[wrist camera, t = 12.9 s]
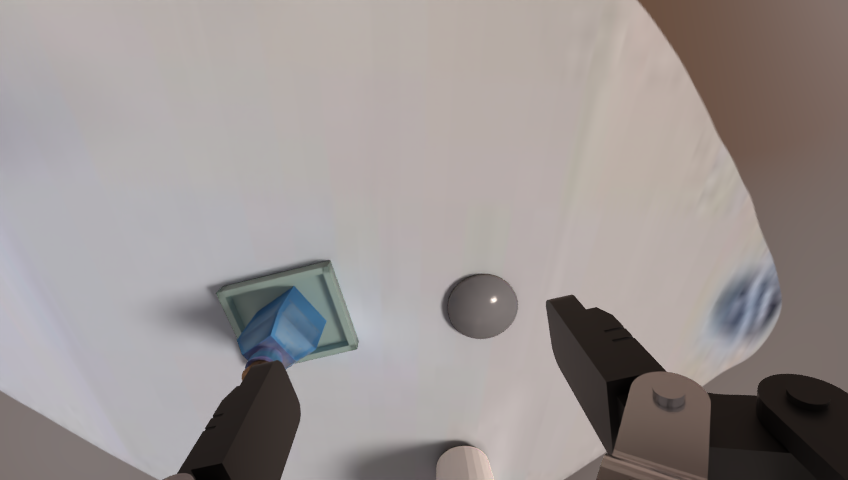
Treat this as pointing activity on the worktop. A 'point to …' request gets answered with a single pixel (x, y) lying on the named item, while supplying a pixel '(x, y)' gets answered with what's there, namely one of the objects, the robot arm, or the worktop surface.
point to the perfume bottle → (282, 331)
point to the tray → (314, 286)
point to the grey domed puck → (482, 306)
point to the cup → (463, 465)
